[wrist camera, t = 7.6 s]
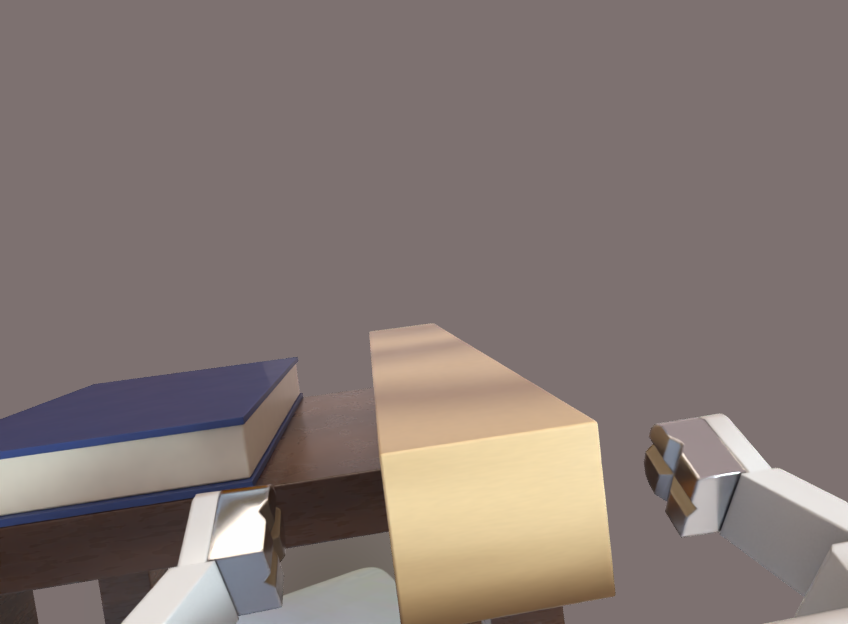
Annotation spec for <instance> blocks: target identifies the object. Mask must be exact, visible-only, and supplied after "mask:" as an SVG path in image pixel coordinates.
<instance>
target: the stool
mask: <svg viewBox="0 0 848 624" xmlns="http://www.w3.org/2000/svg"><path fill="white" fill-rule="evenodd" d="M266 484H273V486H274V489H275V492H276V495H277V496H276V507H277V508H279V509H281V512H282V516H283V521H284V526H285V541H286V545H285V549H286V548H292V547H298V546H304V545H310V544H316V543H322V542H328V541H335V540H340V539H347V538H353V537H359V536H365V535H371V534H377V533H383V532H389V529H388V521H387V513H386V506H385V498H384V490H383V483H382V475H381V468H380V460H379V449H378V437H377V424H376V411H375V399H374V388H367V389H360V390H352V391H346V392H338V393H331V394H325V395H317V396H310V397H303V398H302V400H301V402H300V404H299V405H298V407H297V409H296V411H295V413H294V415H293V416H292V418H291V420H290V422H289V424H288V426H287V427H286V429H285V431H284V433H283V435H282V437H281V439H280V440H279V442H278V444H277V446H276V448H275V450H274V451H273V453H272V455H271V457H270V459H269V461H268V462H267V464H266V466H265V468H264V470H263V472H262V474H261V475H260V477H259V479H258V481H257V483H256V485H255V486H258V485H266ZM193 499H194V498H188V499H182V500H175V501H169V502H162V503H156V504H150V505H143V506H137V507H130V508H124V509H117V510H111V511H104V512H98V513H91V514H85V515H78V516H72V517H65V518H59V519H52V520H46V521H39V522H33V523H26V524H20V525H13V526H7V527H0V624H38V618H37V612H36V607H35V601H34V595H33V590H36V589H42V588H49V587H54V586H61V585H67V584H73V583H79V582H85V581H91V580H97V579H98V580H99V587H100V593H101V599H102V606H103V611H104V618H105V623H106V624H121V623H122V622H123V621H124V619H125V618H126V617H127V616H128V615H129V614H130V613H131V611H132V610H133V609H134V608H135V607H136V606H137V605H138V603H139V602H140V601H141V600H142V599H143V598H144V597H145V595H146V594H147V593H148V592H149V591H150V590H151V589H152V587H153V586H154V585H155V584H156V583H157V582H158V581H159V580H160V578H161V577H162V576H163V575H164V574H165V573H166V572H167V570H168V568H170V567H177V565H178V561H179V556H180V552H181V547H182V543H183V539H184V534H185V530H186V525H187V521H188V516H189V512H190V508H191V503H192V500H193ZM466 624H565V623H564V614H563V606H560V607H555V608H549V609H544V610H538V611H532V612H527V613H521V614H516V615H510V616H505V617H499V618H494V619H488V620H483V621H477V622H472V623H466Z"/></svg>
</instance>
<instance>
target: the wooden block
mask: <svg viewBox="0 0 848 624" xmlns="http://www.w3.org/2000/svg"><path fill="white" fill-rule="evenodd" d="M369 335H370V346H371V347H370V348H371V361H372V373H373V386H374V399H375V411H376V424H377V437H378V449H379V460H380V468H381V475H382V483H383V490H384V498H385V506H386V513H387V521H388V529H389V536H390V543H391V552H392V559H393V567H394V575H395V582H396V590H397V597H398V605H399V613H400V620H401V624H466V623H472V622H477V621H483V620H488V619H494V618H499V617H505V616H510V615H516V614H521V613H527V612H532V611H538V610H544V609H549V608H555V607H560V606H565V605H571V604H576V603H582V602H588V601H593V600H599V599H604V598H610V597H614V596H615V585H614V575H613V566H612V557H611V548H610V538H609V529H608V519H607V509H606V500H605V490H604V482H603V472H602V462H601V453H600V443H599V434H598V425H597V422H596V421H595V420H593V419H591V418H589V417H588V416H586V415H585V414H583V413H581V412H580V411H578V410H576V409H575V408H573V407H571V406H570V405H568V404H566V403H565V402H563V401H561V400H560V399H558V398H556V397H555V396H553V395H552V394H550V393H548V392H546V391H545V390H543V389H542V388H540V387H538V386H537V385H535V384H533V383H532V382H530V381H528V380H526V379H525V378H523V377H522V376H520V375H518V374H517V373H515V372H513V371H512V370H510V369H508V368H507V367H505V366H503V365H502V364H500V363H498V362H497V361H495V360H493V359H491V358H490V357H488V356H487V355H485V354H483V353H482V352H480V351H479V350H477V349H475V348H473V347H472V346H470V345H469V344H467V343H465V342H463V341H462V340H460V339H458V338H457V337H455V336H453V335H452V334H450V333H449V332H447V331H445V330H444V329H442V328H440V327H439V326H437V325H435V324H433V323H431V324H424V325H416V326H408V327H401V328H393V329H386V330H378V331H371V332H370V333H369Z"/></svg>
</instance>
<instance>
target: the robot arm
mask: <svg viewBox="0 0 848 624" xmlns="http://www.w3.org/2000/svg"><path fill="white" fill-rule="evenodd" d="M649 438H650V439H651V441H652V442H653V445H652V446H651V447H650V448H649V449H648V450H647V451H646V453H645V459H644V467H645V474H646V477H647V480H648V482H649V485H650V486H651V488H652V490H653V492H654V494H656V495H657V496H659V497H660V498H662V499H663V500H665V501H667V505H666V510H665V512H666V514H667V515H668V517H669V518H670V520H671V522H672V523H673V525H674V527H675V528H676V530H677V531H678V533H679V535H680V537H681V538H682V537H689V536H696V535H703V534H710V533H716V532H720V535H721V536H723V537H724V538H725V539H727V540H728V541H730V542H731V543H732V544H734V545H735V546H737V547H738V548H739V549H740V550H742V551H743V552H744V553H746V554H747V555H748V556H750V557H751V558H752V559H754V560H755V561H757V562H758V563H759V564H761V565H762V566H763V567H765V568H766V569H767V570H769V571H770V572H771V573H773V574H774V575H775V576H777V577H778V578H779V579H781V580H782V581H783V582H785V583H786V584H788V585H789V586H790V587H792V588H793V589H794V590H796V591H797V592H799V593H800V594H801V595H802V596H804V599H803V601H802V603H801V605H800V606H799V608H798V610H797V612H796V614H795V617H794V618H791V619H785V620H780V621H775V622H770V623H765V624H848V502H845V501H844V500H842V499H840V498H838V497H836V496H833V495H832V494H830V493H828V492H826V491H823V490H822V489H819V488H818V487H816V486H814V485H812V484H810V483H808V482H806V481H804V480H802V479H800V478H798V477H796V476H794V475H792V474H790V473H788V472H786V471H784V470H782V469H780V468H771V467H770V466H769V465H768V464H767V462H766V461H765V460H764V459H763V458H762V457H761V456H760V455H759V453H758V452H757V451H756V450H755V448H754V447H753V446H752V445H751V444H750V443H749V442H748V440H747V439H746V438H745V437H744V436H743V434H742V433H741V432H740V431H739V430H738V429H737V428H736V426H735V425H734V424H733V423H732V422H731V420H730V419H729V418H728V417H727V416H725V415H723V414H721V413H720V414H714V415H708V416H702V417H698V418H697V417H694V418H688V419H682V420H676V421H670V422H664V423H658V424H654V425H653V427H652V428H651V430H650V435H649ZM276 496H277V495H276V492H275V489H274V486H273V484H266V485H258V486H251V487H243V488H235V489H227V490H222V491H214V492H207V493H200V494H196V495H195V497H194V499H193V500H192V503H191V508H190V512H189V516H188V521H187V525H186V530H185V534H184V539H183V543H182V547H181V552H180V556H179V561H178V565H177V567H173V568H169V569H168V570H167V572H166V573H165V574H164V575H163V576H162V577H161V578H160V580H159V581H158V582H157V583H156V584H155V585H154V586H153V587H152V589H151V590H150V591H149V592H148V593H147V594H146V595H145V597H144V598H143V599H142V600H141V601H140V602H139V603H138V605H137V606H136V607H135V608H134V609H133V610H132V611H131V613H130V614H129V615H128V616H127V617H126V618H125V619H124V621H123V622H122V623H121V624H236V623H237V621H238V620H239V618H238V616H241V615H246V614H251V613H256V612H261V611H266V610H271V609H276V608H281V607H282V600H283V584H284V575H283V571H282V568H281V565H280V562H281V561H282V559H283V558H284V556H285V545H286V541H285V526H284V521H283V516H282V512H281V509H279V508H277V507H276Z"/></svg>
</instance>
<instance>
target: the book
mask: <svg viewBox="0 0 848 624" xmlns="http://www.w3.org/2000/svg"><path fill="white" fill-rule="evenodd" d="M297 362H298V357H293V358H286V359H278V360H271V361H264V362H256V363H249V364H241V365H234V366H226V367H219V368H211V369H204V370H197V371H189V372H181V373H174V374H167V375H159V376H152V377H144V378H137V379H129V380H122V381H114V382H108V383H100V384H93V385H91V386H88V387H85V388H83V389H80V390H77V391H75V392H72V393H70V394H67V395H64V396H61V397H59V398H56V399H54V400H51V401H48V402H45V403H43V404H40V405H37V406H35V407H32V408H30V409H27V410H24V411H22V412H19V413H16V414H13V415H11V416H8V417H6V418H3V419H0V527H7V526H13V525H20V524H26V523H33V522H39V521H46V520H52V519H59V518H65V517H72V516H78V515H85V514H91V513H98V512H104V511H111V510H117V509H124V508H130V507H137V506H143V505H150V504H156V503H162V502H169V501H175V500H182V499H188V498H194V497H195V495H196V494H200V493H207V492H214V491H222V490H227V489H235V488H243V487H251V486H255V485H256V483H257V481H258V479H259V477H260V475H261V474H262V472H263V470H264V468H265V466H266V464H267V462H268V461H269V459H270V457H271V455H272V453H273V451H274V450H275V448H276V446H277V444H278V442H279V440H280V439H281V437H282V435H283V433H284V431H285V429H286V427H287V426H288V424H289V422H290V420H291V418H292V416H293V415H294V413H295V411H296V409H297V407H298V405H299V404H300V402H301V400H302V398H303V394H302V393H300V390H299V383H298V376H297V369H296V363H297Z"/></svg>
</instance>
